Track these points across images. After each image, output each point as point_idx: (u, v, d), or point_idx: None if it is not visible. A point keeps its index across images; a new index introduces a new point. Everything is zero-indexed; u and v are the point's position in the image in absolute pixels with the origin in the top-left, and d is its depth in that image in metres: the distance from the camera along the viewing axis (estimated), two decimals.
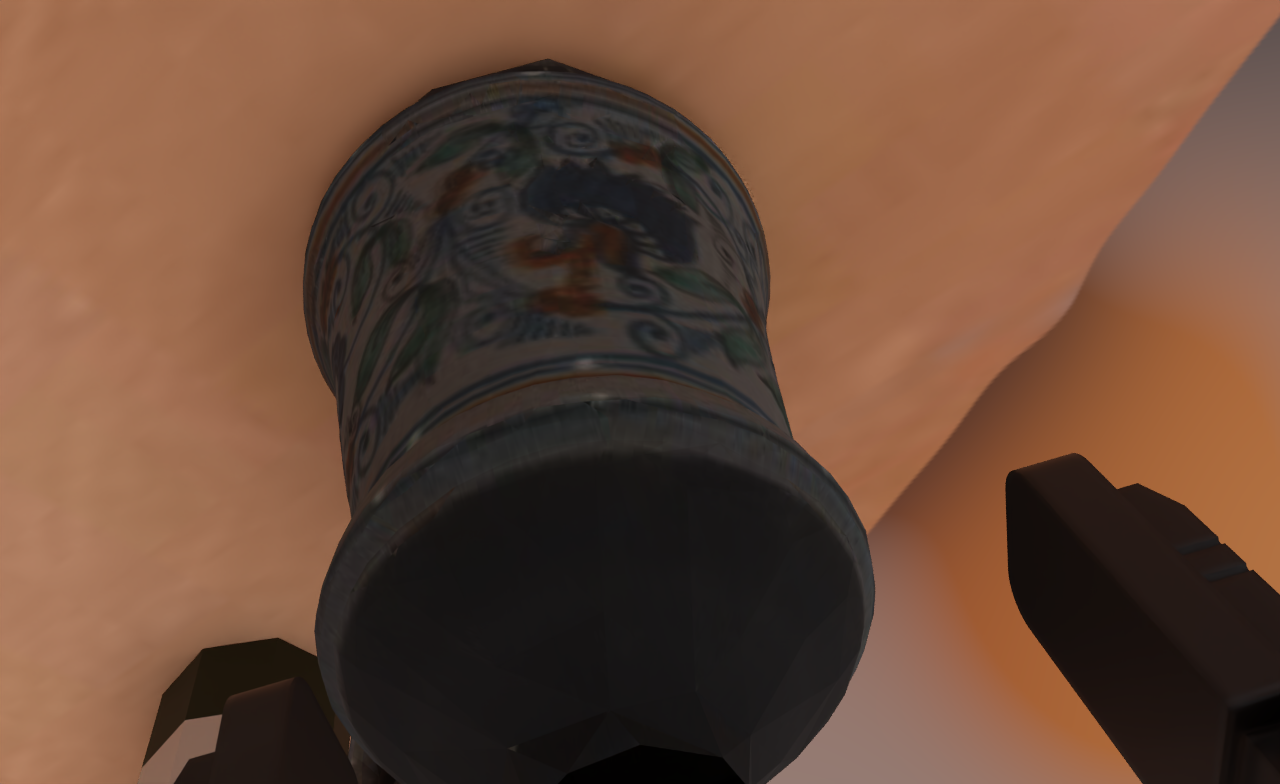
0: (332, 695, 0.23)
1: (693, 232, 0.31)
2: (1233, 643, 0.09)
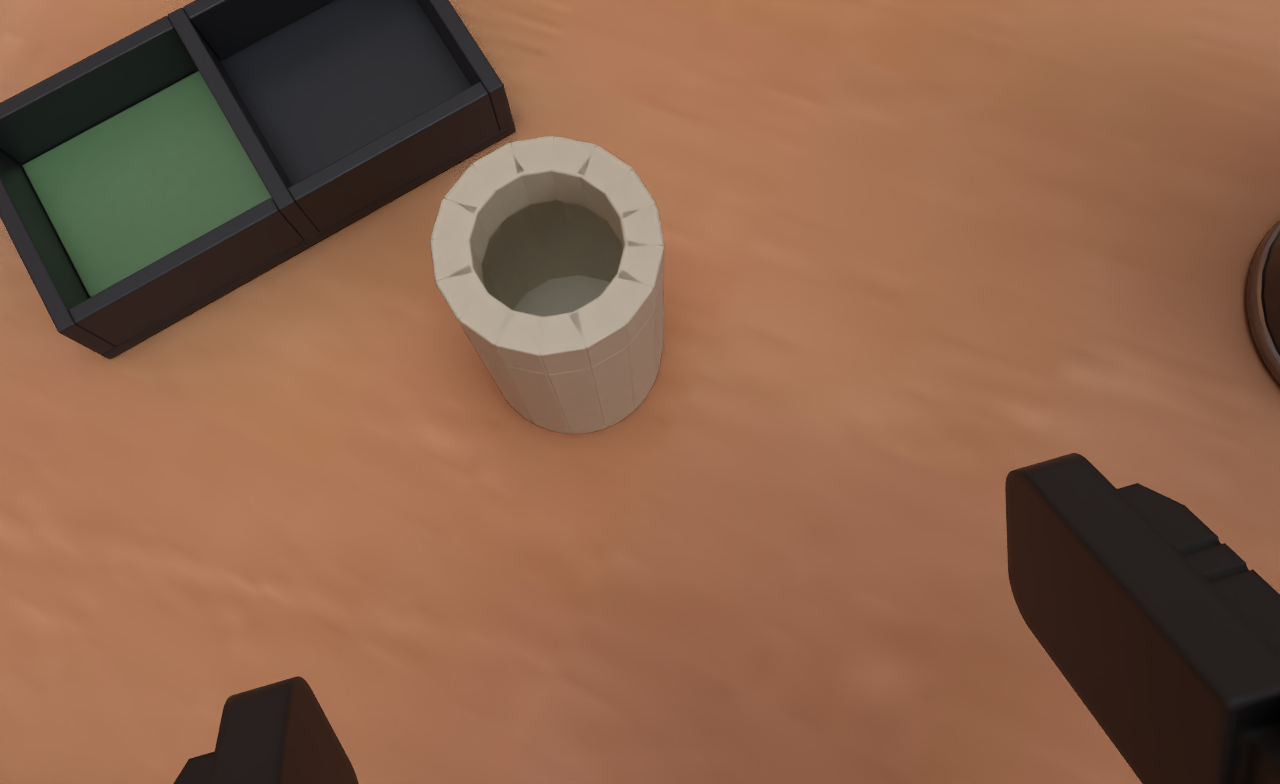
0: None
1: None
2: (1233, 643, 0.09)
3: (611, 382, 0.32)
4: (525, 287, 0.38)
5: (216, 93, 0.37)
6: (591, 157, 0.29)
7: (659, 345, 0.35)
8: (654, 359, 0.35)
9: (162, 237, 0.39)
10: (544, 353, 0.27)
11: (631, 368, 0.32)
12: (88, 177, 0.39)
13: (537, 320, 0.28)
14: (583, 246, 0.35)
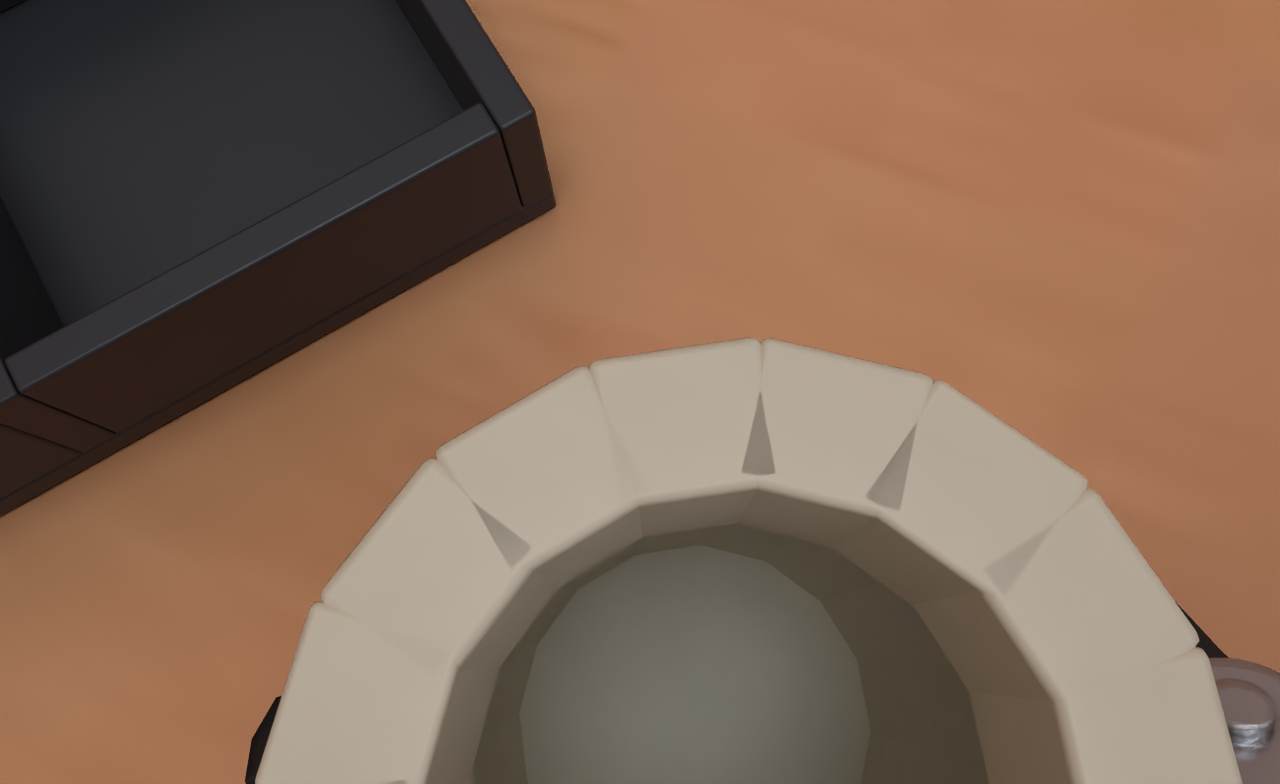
0: None
1: None
2: None
3: None
4: (580, 584, 0.16)
5: None
6: (919, 432, 0.07)
7: None
8: None
9: None
10: None
11: None
12: None
13: None
14: (740, 529, 0.14)
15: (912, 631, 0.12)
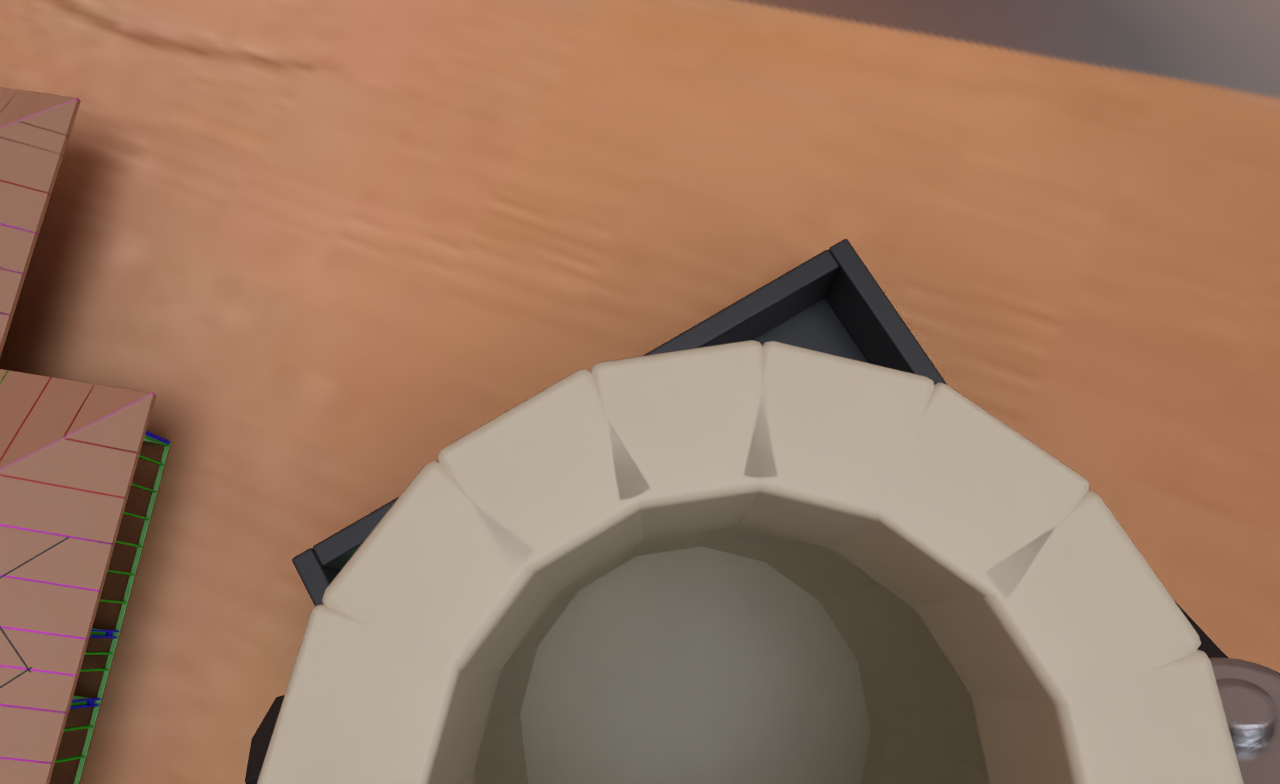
0: None
1: None
2: None
3: None
4: (581, 585, 0.16)
5: None
6: (921, 435, 0.07)
7: None
8: None
9: None
10: None
11: None
12: None
13: None
14: (741, 531, 0.14)
15: (913, 633, 0.12)
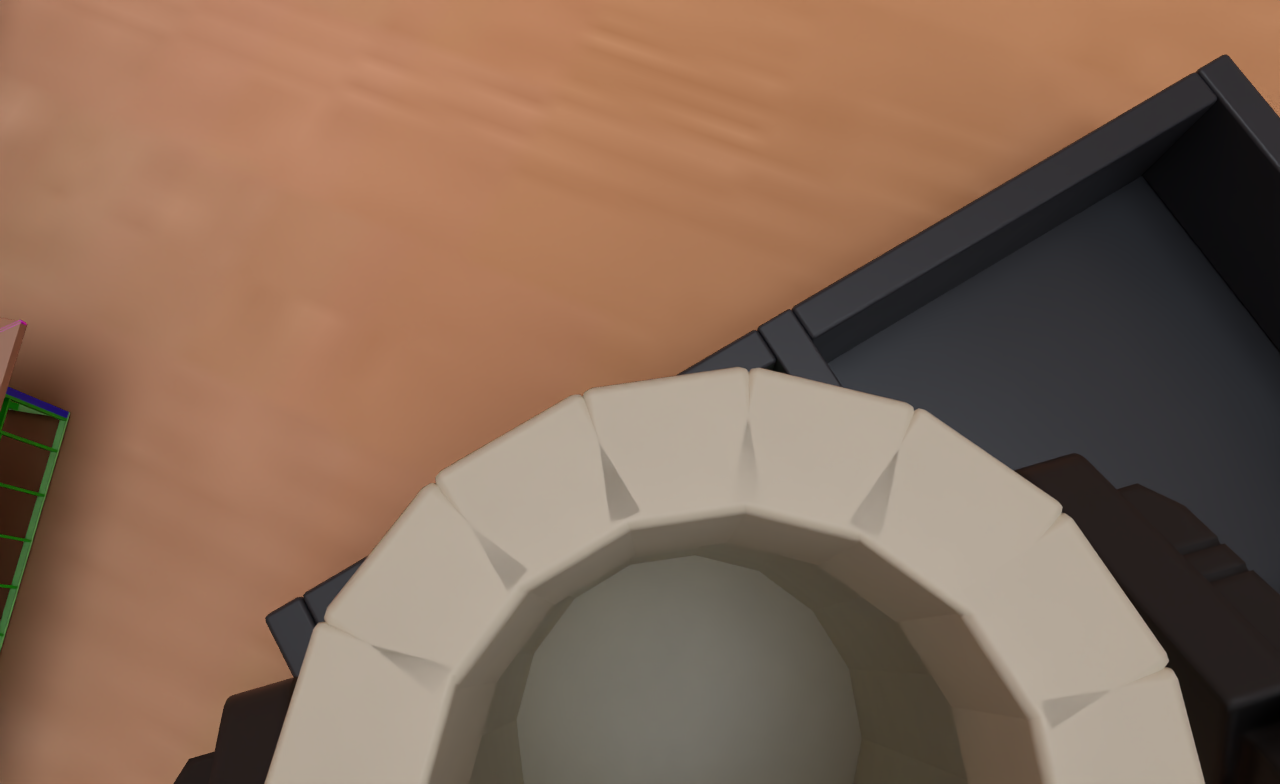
0: None
1: None
2: (1233, 643, 0.09)
3: None
4: (577, 593, 0.16)
5: None
6: (901, 459, 0.07)
7: None
8: None
9: None
10: None
11: None
12: None
13: None
14: None
15: (900, 643, 0.12)
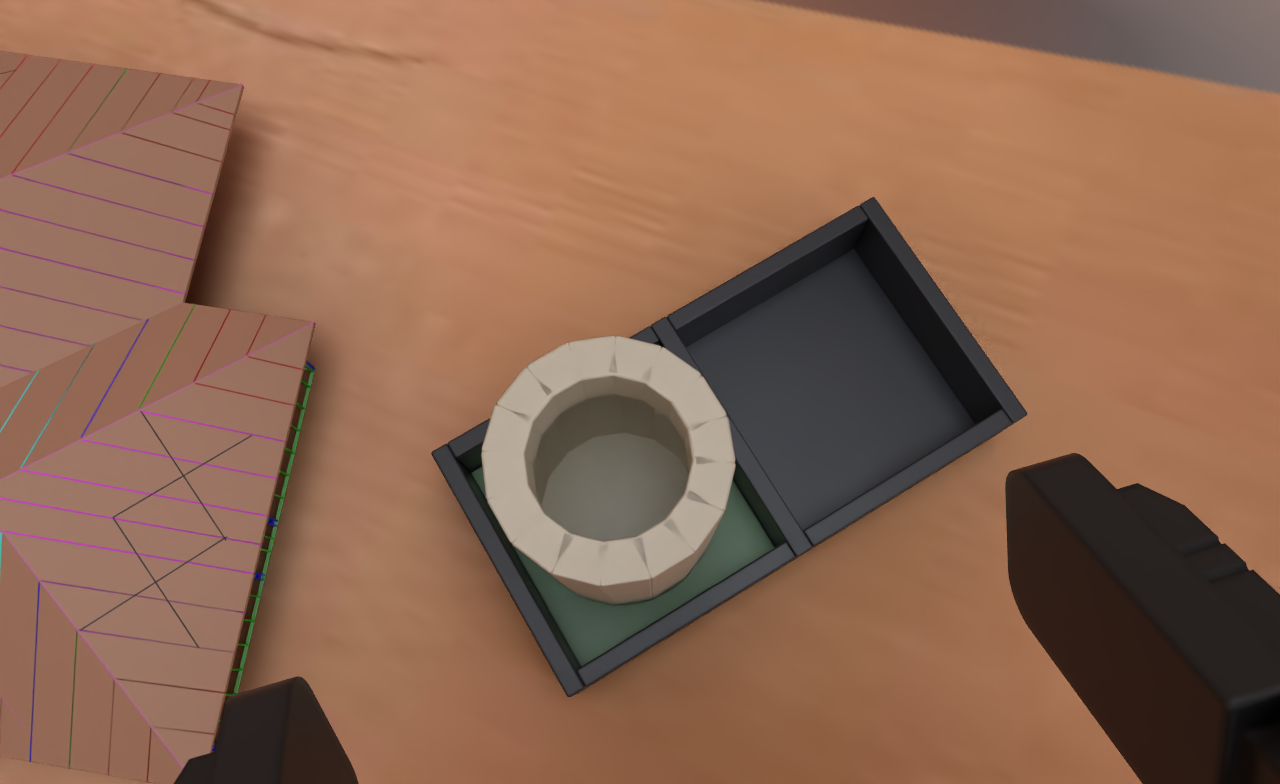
0: None
1: None
2: (1233, 643, 0.09)
3: (667, 581, 0.30)
4: (569, 448, 0.35)
5: None
6: (656, 361, 0.26)
7: None
8: None
9: None
10: (605, 583, 0.25)
11: (689, 566, 0.30)
12: None
13: (597, 545, 0.25)
14: (634, 416, 0.33)
15: None
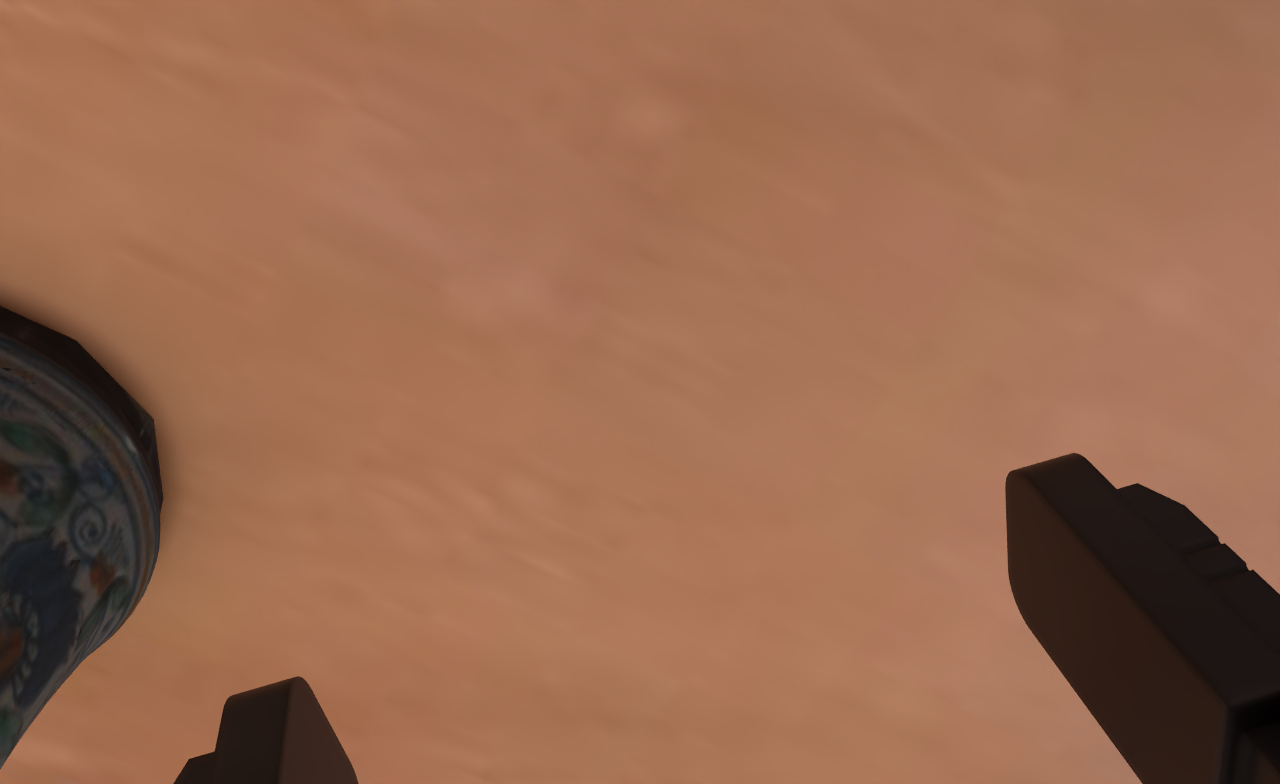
0: None
1: (54, 672, 0.35)
2: (1233, 643, 0.09)
3: None
4: None
5: None
6: None
7: None
8: None
9: None
10: None
11: None
12: None
13: None
14: None
15: None
